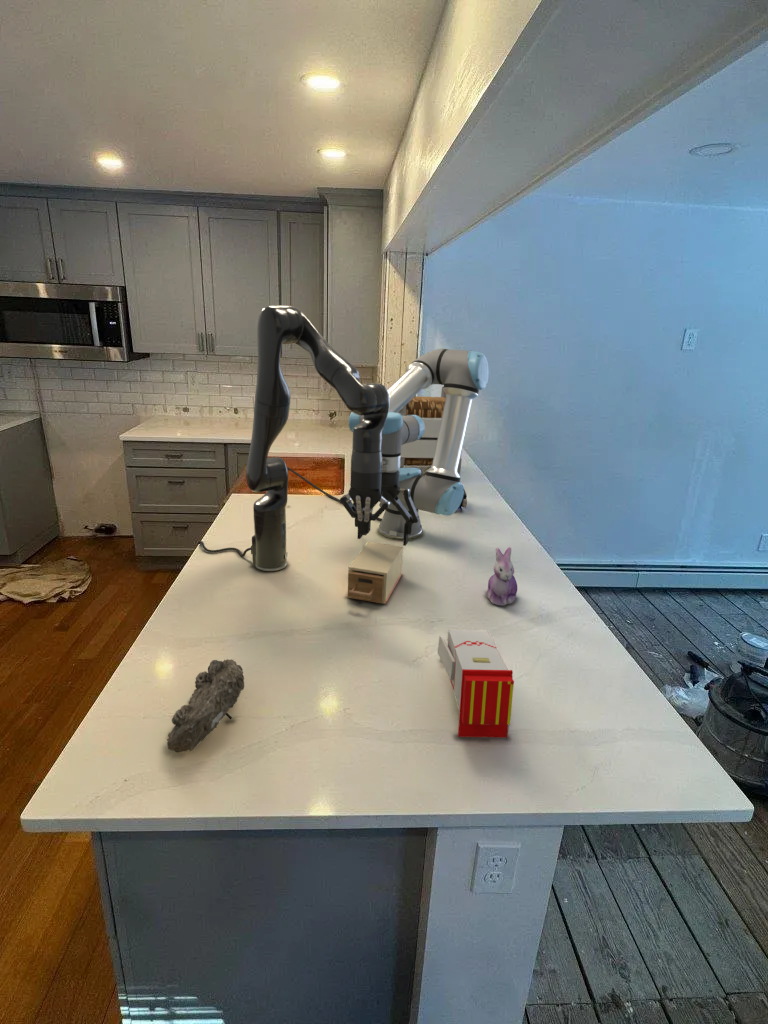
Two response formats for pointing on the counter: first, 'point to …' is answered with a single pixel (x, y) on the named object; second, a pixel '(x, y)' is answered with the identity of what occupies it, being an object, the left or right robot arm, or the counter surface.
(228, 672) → the fossil
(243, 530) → the counter surface
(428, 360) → the right robot arm
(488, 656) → the toy
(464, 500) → the figurine character
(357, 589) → the drawer
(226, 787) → the counter surface
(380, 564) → the cabinet
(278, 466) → the left robot arm
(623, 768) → the counter surface
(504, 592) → the figurine
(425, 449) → the grey slatted crate
